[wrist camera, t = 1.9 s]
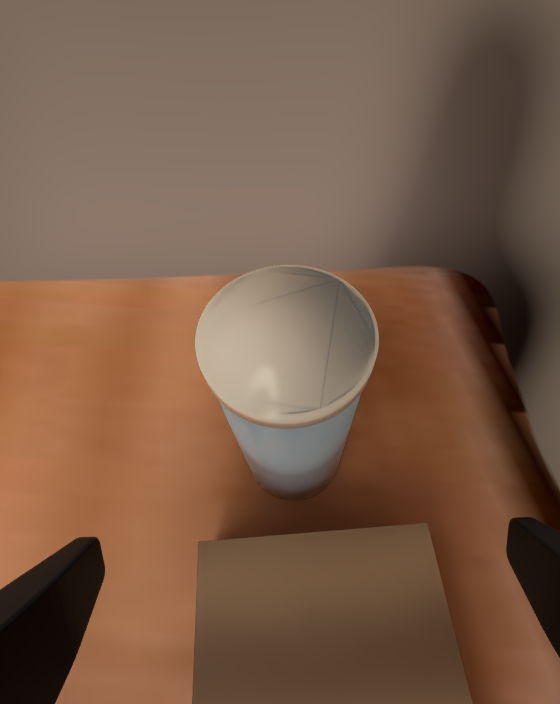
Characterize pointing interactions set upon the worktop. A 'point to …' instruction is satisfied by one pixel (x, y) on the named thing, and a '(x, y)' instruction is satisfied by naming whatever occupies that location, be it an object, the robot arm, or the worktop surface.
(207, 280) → the worktop surface
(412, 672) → the base block
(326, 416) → the canister
